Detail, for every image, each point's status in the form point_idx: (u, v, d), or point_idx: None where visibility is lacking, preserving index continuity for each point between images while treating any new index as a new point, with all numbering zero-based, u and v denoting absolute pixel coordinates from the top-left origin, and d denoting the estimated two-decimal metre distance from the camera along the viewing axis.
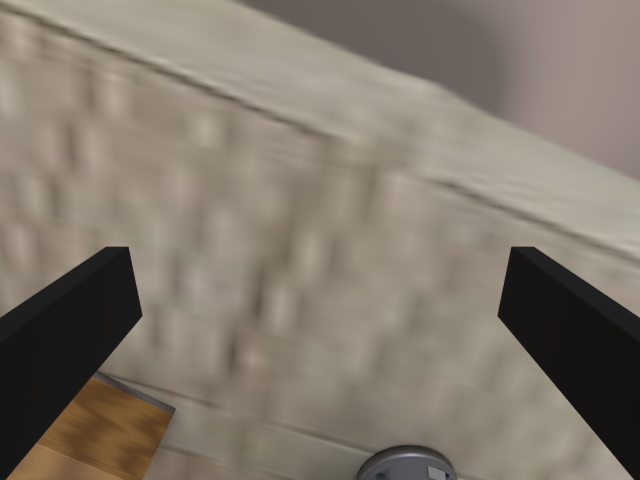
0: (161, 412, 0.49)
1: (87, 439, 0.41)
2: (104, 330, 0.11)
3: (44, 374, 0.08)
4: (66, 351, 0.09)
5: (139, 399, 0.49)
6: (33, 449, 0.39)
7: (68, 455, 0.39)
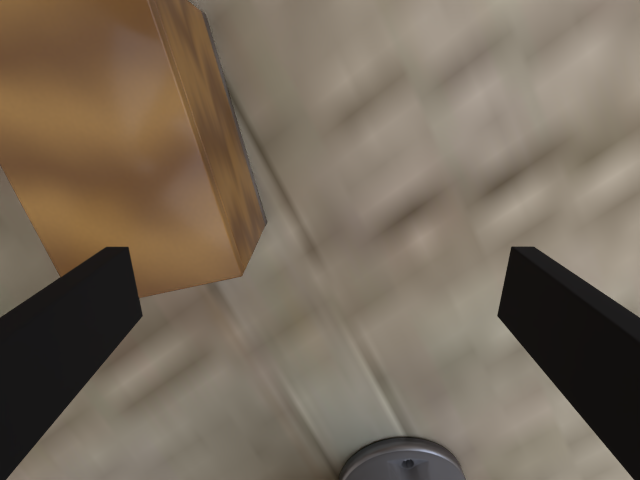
0: (259, 210, 0.31)
1: (213, 149, 0.22)
2: (104, 330, 0.11)
3: (44, 374, 0.08)
4: (66, 351, 0.09)
5: (247, 170, 0.30)
6: (157, 78, 0.18)
7: (197, 142, 0.20)
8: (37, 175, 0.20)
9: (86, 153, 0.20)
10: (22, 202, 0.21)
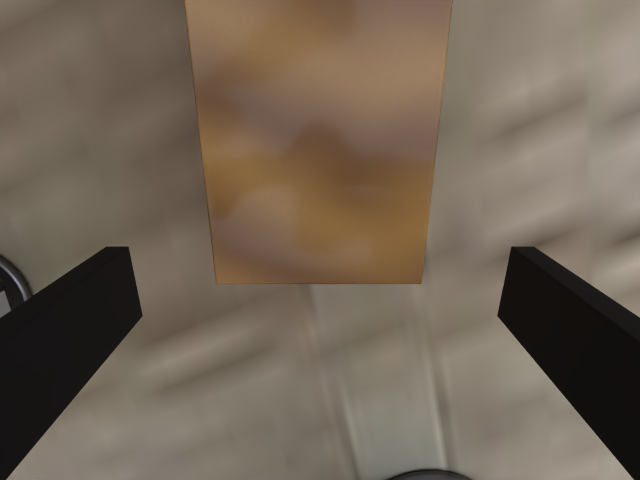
0: None
1: None
2: (104, 330, 0.11)
3: (44, 374, 0.08)
4: (67, 352, 0.09)
5: None
6: (428, 36, 0.15)
7: (438, 121, 0.17)
8: (235, 115, 0.16)
9: (306, 103, 0.16)
10: (202, 142, 0.17)
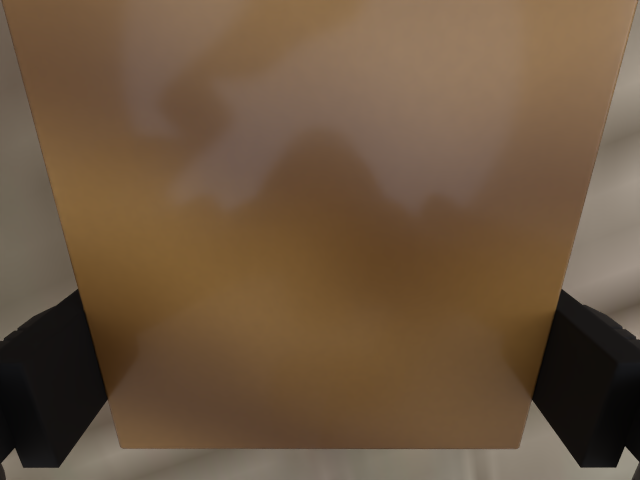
0: None
1: None
2: None
3: None
4: None
5: None
6: None
7: (596, 139, 0.07)
8: (123, 123, 0.07)
9: (289, 95, 0.07)
10: (56, 186, 0.07)
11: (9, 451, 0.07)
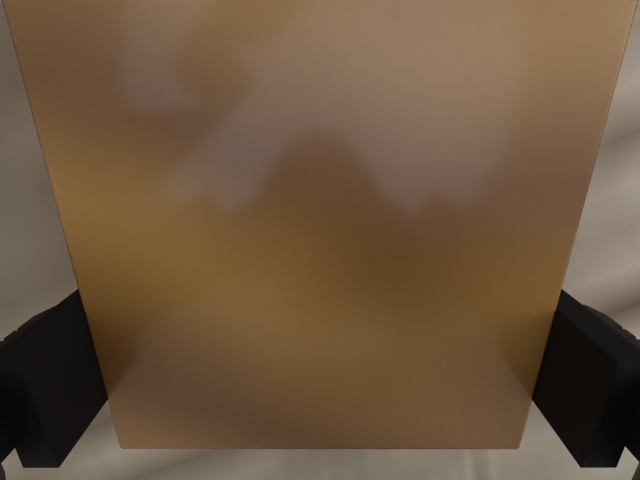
0: None
1: None
2: None
3: None
4: None
5: None
6: None
7: (596, 139, 0.07)
8: (124, 123, 0.07)
9: (290, 96, 0.07)
10: (56, 186, 0.07)
11: (9, 451, 0.07)
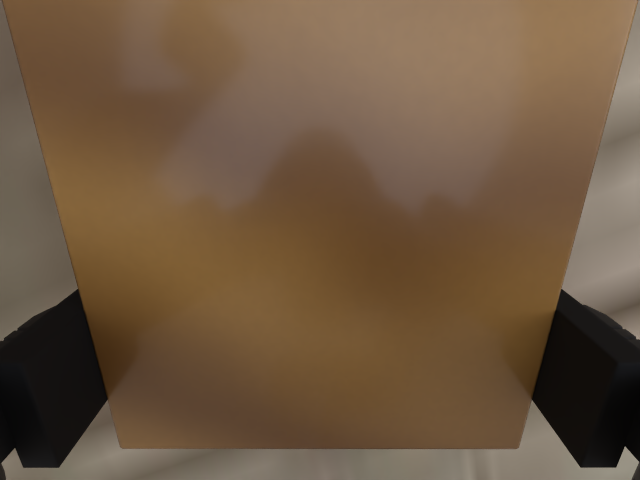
0: None
1: None
2: None
3: None
4: None
5: None
6: None
7: (596, 140, 0.07)
8: (123, 123, 0.07)
9: (290, 96, 0.07)
10: (56, 186, 0.07)
11: (9, 451, 0.07)
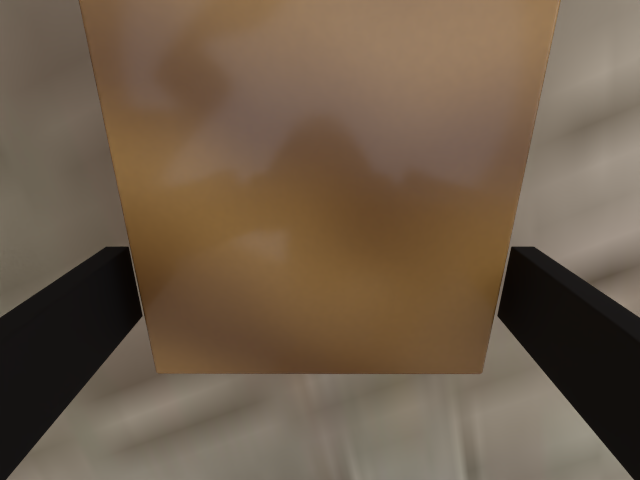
0: None
1: None
2: (104, 330, 0.11)
3: (44, 374, 0.08)
4: (67, 352, 0.09)
5: None
6: None
7: (533, 116, 0.09)
8: (169, 102, 0.09)
9: (296, 81, 0.09)
10: (114, 152, 0.09)
11: None
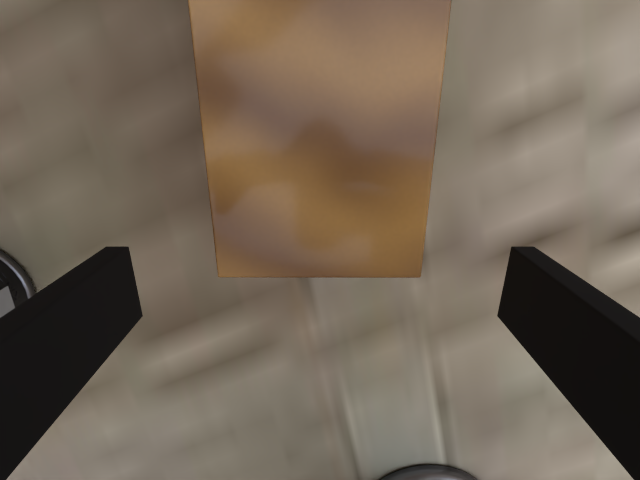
0: None
1: None
2: (104, 330, 0.11)
3: (44, 374, 0.08)
4: (67, 351, 0.09)
5: None
6: (427, 32, 0.15)
7: (437, 117, 0.17)
8: (237, 110, 0.17)
9: (307, 98, 0.16)
10: (205, 137, 0.17)
11: None
